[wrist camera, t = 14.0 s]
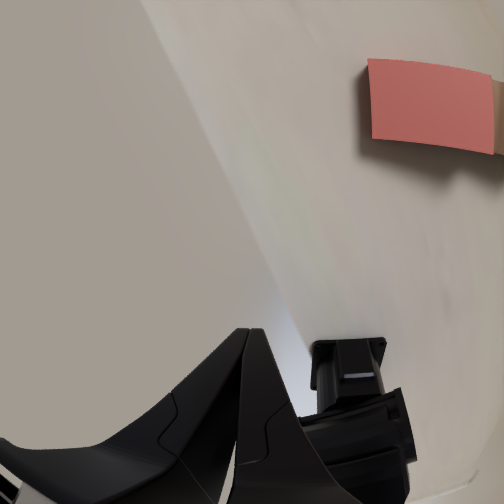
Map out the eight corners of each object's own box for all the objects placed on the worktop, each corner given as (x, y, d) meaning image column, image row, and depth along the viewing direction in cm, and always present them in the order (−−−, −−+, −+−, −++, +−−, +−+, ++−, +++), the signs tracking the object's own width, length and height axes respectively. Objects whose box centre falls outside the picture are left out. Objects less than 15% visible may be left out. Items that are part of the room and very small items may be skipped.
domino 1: (368, 63, 15) (483, 78, 11) (372, 137, 17) (485, 151, 13) (367, 58, 13) (491, 75, 10) (372, 138, 15) (493, 154, 12)
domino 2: (439, 73, 14) (531, 95, 11) (442, 143, 16) (532, 160, 13) (444, 70, 12) (540, 94, 9) (448, 144, 15) (541, 164, 11)
